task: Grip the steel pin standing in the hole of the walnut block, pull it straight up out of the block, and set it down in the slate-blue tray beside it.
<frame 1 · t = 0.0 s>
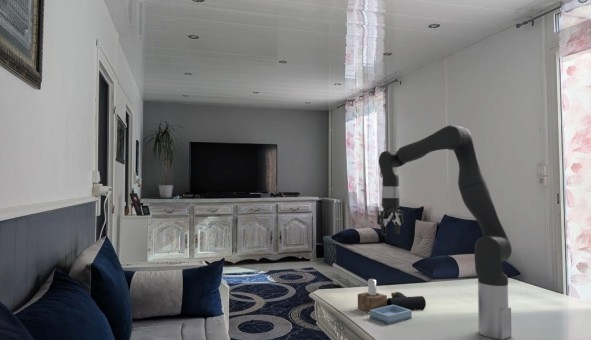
hand: (390, 234, 174), 29 cm above the table, tool pointing down, fingers open, 8 cm apart
pin block: (372, 309, 163), on the table
tray: (390, 318, 152), on the table
pipe connector: (402, 307, 168), on the table
pin: (372, 294, 163), in the pin block
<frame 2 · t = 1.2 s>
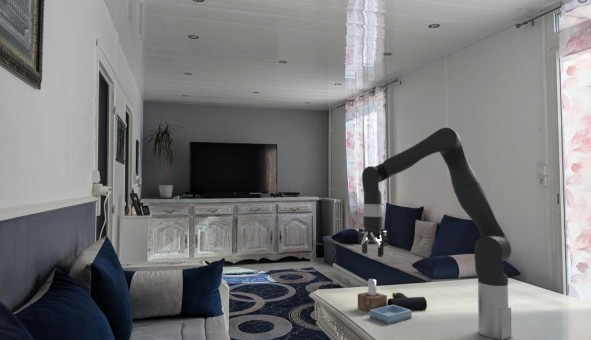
hand: (372, 255, 164), 22 cm above the table, tool pointing down, fingers open, 8 cm apart
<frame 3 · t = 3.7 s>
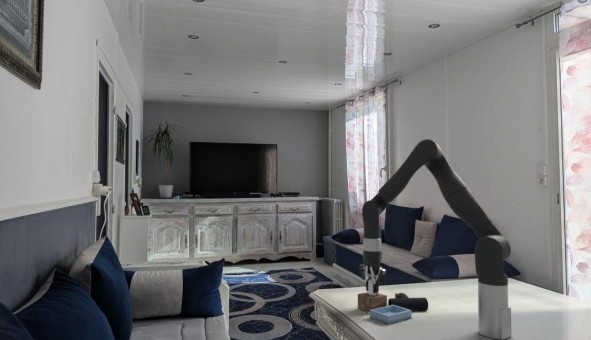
hand: (372, 291, 163), 7 cm above the table, tool pointing down, fingers closed on pin, 3 cm apart
pin: (372, 294, 163), in the pin block, touching gripper
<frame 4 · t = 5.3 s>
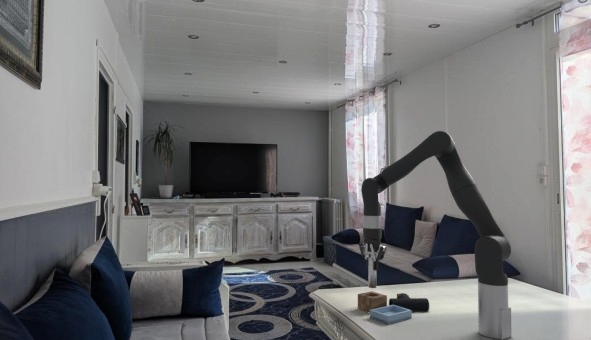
hand: (372, 269, 163), 16 cm above the table, tool pointing down, fingers closed on pin, 3 cm apart
pin: (372, 272, 163), point 15 cm above the table, touching gripper
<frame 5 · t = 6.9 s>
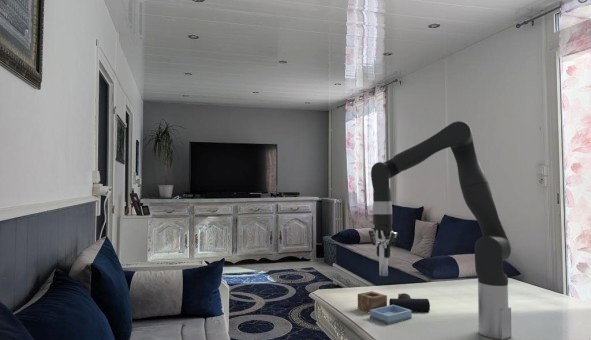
hand: (383, 256, 158), 22 cm above the table, tool pointing down, fingers closed on pin, 3 cm apart
pin: (383, 259, 158), point 21 cm above the table, touching gripper
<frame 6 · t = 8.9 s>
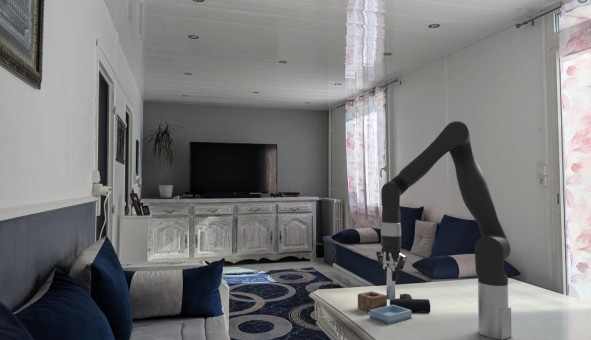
hand: (390, 279, 153), 14 cm above the table, tool pointing down, fingers closed on pin, 3 cm apart
pin: (390, 282, 153), point 13 cm above the table, touching gripper
when the fingers open (10 cm above the table, at t = 10.5 s): pin drops 1 cm, resting on tray.
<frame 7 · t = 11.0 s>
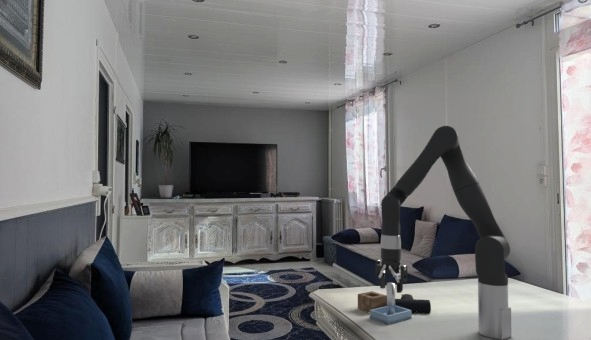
hand: (390, 290, 153), 10 cm above the table, tool pointing down, fingers open, 7 cm apart
pin: (390, 299, 152), in the tray, point 7 cm above the table
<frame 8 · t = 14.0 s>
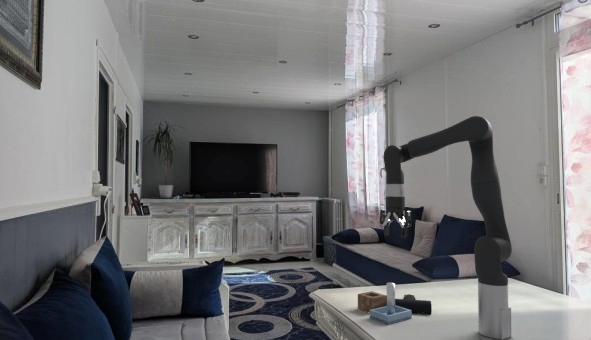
hand: (395, 236, 159), 30 cm above the table, tool pointing down, fingers open, 8 cm apart
at the end: pin inside the target area on the tray (0.1 cm from its centre), point 7.0 cm above the tray's base; pin touching tray; the gripper is holding nothing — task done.
